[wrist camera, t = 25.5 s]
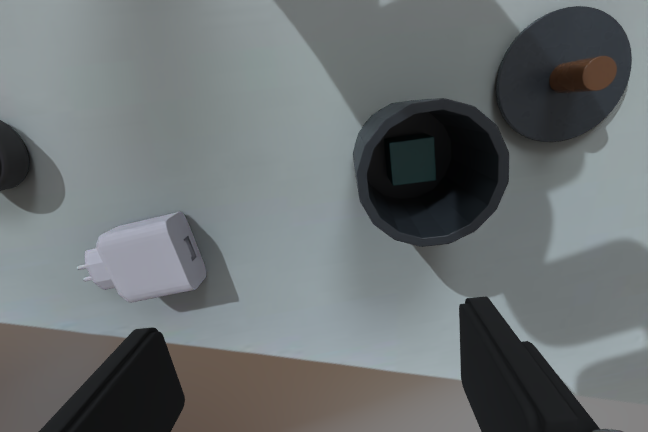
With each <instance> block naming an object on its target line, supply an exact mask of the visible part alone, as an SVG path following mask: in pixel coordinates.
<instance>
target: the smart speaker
mask: <svg viewBox="0 0 648 432" xmlns="http://www.w3.org/2000/svg"><path fill="white" fill-rule="evenodd" d="M28 168H29V157H28V152H27V149H26V147H25V145H24V143H23V141H22V139H21V138H20V137H19V135H18V134H17V133H16V132H15V131H14V130H13V129H12V128H11V127H10V126H8V125H7V124H6V123H4V122H3V121H1V120H0V191H1V190H5V189H9V188H12V187H15V186H17V185H18V184H19V183H21V182H22V181H23V179H24V178H25V177H26V174H27V172H28Z"/></svg>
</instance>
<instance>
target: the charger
mask: <svg viewBox="0 0 648 432" xmlns="http://www.w3.org/2000/svg"><path fill="white" fill-rule="evenodd" d="M85 268H87V270H88V272H89V274H90V276H89V277H84V278H83V281H89V280H93V282H94V283H95V284H96V285H98V286H99V287H100V288H102V289H105V290H106V289H111V288H116V290H117V292H118V294H119V295H120V296H121V297H122V298H124V299H125V300H127V301H128V302H136V301H141V300H146V299H151V298H156V297H161V296H166V295H171V294H176V293H181V292H186V291H191V290H195V289H197V287H198V286H199V285H200V284H201V282H202V281H203V280H204V279H205V278H206V268H205V264H204V261H203V259H202V256H201V254H200V251H199V249H198V246H197V244H196V241H195V239H194V236H193V234H192V231H191V229H190V226H189V223H188V221H187V219H186V217H185V215H184V214H183V213H182V212H176V213H172V214H167V215H163V216H159V217H155V218H150V219H146V220H142V221H138V222H133V223H129V224H125V225H121V226H117V227H115V228H113V229H111V230H109V231H107V232H105V233H104V234H102V235H100V236H99V238H98V241H97V244H96V248H94V249H90V250H86V251H85V264H84V265H80V266H77V269H78V270H80V269H85Z"/></svg>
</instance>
